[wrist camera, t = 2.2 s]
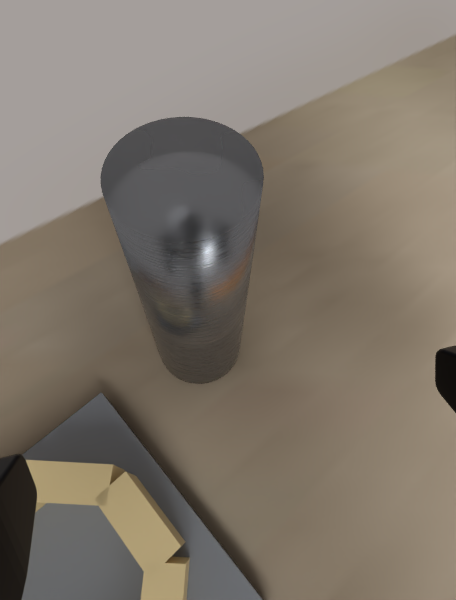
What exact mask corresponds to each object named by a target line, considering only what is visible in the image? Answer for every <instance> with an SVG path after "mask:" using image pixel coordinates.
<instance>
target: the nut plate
mask: <svg viewBox="0 0 456 600" xmlns="http://www.w3.org/2000/svg"><path fill="white" fill-rule="evenodd" d="M22 455H23V457H24V458H25V460H26V462H27V465H28V467H29V470H30V472H31V475H32V478H33V480H34V483H35V485H36V489H37V503H36V511H35V519H34V527H33V535H32V542H31V550H30V558H29V565H28V572H27V578H26V583H25V587H24V592H23V596H22V600H263V599H262V598H261V596H260V595H259V594H258V592H257V591H256V590H255V589H254V587H253V586H252V585H251V583H250V582H249V581H248V579H247V578H246V577H245V576H244V574H243V573H242V572H241V570H240V569H239V568H238V567H237V565H236V564H235V563H234V561H233V560H232V559H231V558H230V556H229V555H228V554H227V552H226V551H225V550H224V549H223V547H222V546H221V545H220V543H219V542H218V541H217V540H216V538H215V537H214V536H213V534H212V533H211V532H210V531H209V529H208V528H207V527H206V525H205V524H204V523H203V522H202V520H201V519H200V518H199V516H198V515H197V514H196V513H195V511H194V510H193V509H192V507H191V506H190V505H189V504H188V502H187V501H186V500H185V498H184V497H183V496H182V495H181V493H180V492H179V491H178V489H177V488H176V487H175V486H174V484H173V483H172V482H171V480H170V479H169V478H168V477H167V475H166V474H165V473H164V471H163V470H162V469H161V467H160V466H159V465H158V464H157V462H156V461H155V460H154V458H153V457H152V456H151V455H150V453H149V452H148V451H147V449H146V448H145V447H144V446H143V444H142V443H141V442H140V440H139V439H138V438H137V437H136V435H135V434H134V433H133V431H132V430H131V429H130V428H129V426H128V425H127V424H126V422H125V421H124V420H123V419H122V417H121V416H120V415H119V413H118V412H117V411H116V410H115V408H114V407H113V406H112V404H111V403H110V402H109V401H108V399H107V398H106V397H105V396H104V395H103V394H102V393H100V394H98V395H97V396H96V397H95V398H93V399H92V400H91V401H90V402H88V403H87V404H86V405H85V406H83V407H82V408H81V409H79V410H78V411H77V412H76V413H74V414H73V415H72V416H71V417H69V418H68V419H67V420H65V421H64V422H63V423H62V424H60V425H59V426H58V427H57V428H55V429H54V430H53V431H52V432H50V433H49V434H48V435H46V436H45V437H44V438H43V439H41V440H40V441H39V442H38V443H36V444H35V445H34V446H33V447H31V448H30V449H29V450H27V451H26V452H25V453H24V454H22Z"/></svg>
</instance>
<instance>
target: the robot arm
mask: <svg viewBox="0 0 456 600" xmlns="http://www.w3.org/2000/svg"><path fill="white" fill-rule="evenodd" d="M435 382H436V387H437V389H438V391H439V393H440V394H441V396H442V397H443V398H444V399H445V400H446V402H447V403H448V404H449V405H450V407H451V408H452V409H453V410H454V411H455V413H456V346H451V347H447V348H443V349H440V350H439V351H437V353H436V361H435ZM36 503H37V489H36V485H35V483H34V480H33V478H32V475H31V472H30V470H29V467H28V465H27V462H26V460H25V458H24V457H23V455H21V454H15V455H11V456H7V457H3V458H0V600H22V596H23V592H24V587H25V583H26V578H27V572H28V565H29V558H30V550H31V542H32V535H33V527H34V519H35V511H36Z"/></svg>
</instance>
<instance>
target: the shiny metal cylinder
mask: <svg viewBox="0 0 456 600" xmlns="http://www.w3.org/2000/svg"><path fill="white" fill-rule="evenodd" d="M263 178H264V176H263V167H262V163H261V160H260V158H259V156H258V154H257V152H256V150H255V149H254V147H253V146H252V145H251V144H250V143H249V141H247V140H246V139H245V138H244V137H243V136H242V135H241V134H239V133H238V132H236V131H235V130H233V129H231V128H229V127H227V126H225V125H223V124H220V123H218V122H214V121H211V120H207V119H201V118H193V117H176V118H167V119H161V120H158V121H154V122H150V123H148V124H145V125H143V126H141V127H139V128H137V129H135V130H133V131H132V132H130V133H128V134H127V135H125V136H124V137H123V138H122V139H120V140H119V141H118V143H116V145H115V146H114V147H113V148H112V149H111V151H110V152H109V154H108V155H107V157H106V159H105V162H104V164H103V167H102V172H101V188H102V193H103V196H104V198H105V201H106V204H107V207H108V210H109V212H110V215H111V218H112V221H113V224H114V226H115V229H116V232H117V235H118V238H119V240H120V243H121V246H122V249H123V252H124V254H125V257H126V260H127V263H128V266H129V268H130V271H131V274H132V277H133V280H134V282H135V285H136V288H137V291H138V294H139V296H140V299H141V302H142V305H143V308H144V310H145V313H146V316H147V319H148V322H149V324H150V327H151V330H152V333H153V336H154V338H155V341H156V344H157V347H158V350H159V352H160V355H161V358H162V361H163V363H164V365H165V366H166V368H167V369H168V370H169V371H170V372H171V373H172V374H173V375H174V376H176V377H177V378H179V379H181V380H183V381H186V382H189V383H196V384H202V383H208V382H212V381H215V380H217V379H219V378H221V377H222V376H224V375H225V374H226V373H227V372H228V371H229V370H230V369H231V368H232V367H233V365H234V364H235V362H236V360H237V357H238V354H239V349H240V342H241V335H242V328H243V321H244V314H245V307H246V300H247V293H248V286H249V279H250V272H251V265H252V258H253V251H254V244H255V237H256V230H257V223H258V216H259V208H260V201H261V194H262V187H263Z"/></svg>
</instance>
